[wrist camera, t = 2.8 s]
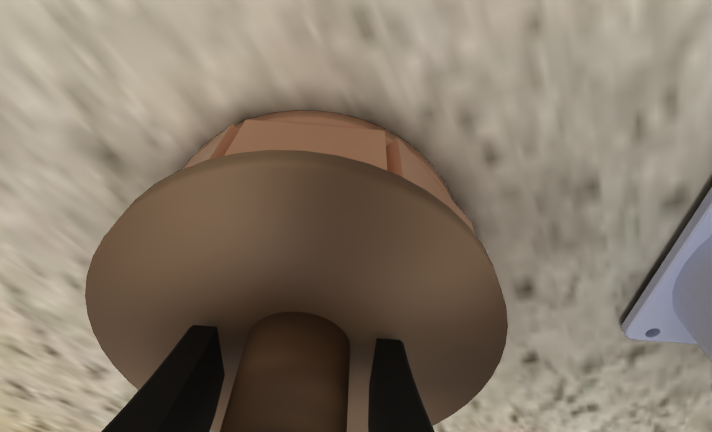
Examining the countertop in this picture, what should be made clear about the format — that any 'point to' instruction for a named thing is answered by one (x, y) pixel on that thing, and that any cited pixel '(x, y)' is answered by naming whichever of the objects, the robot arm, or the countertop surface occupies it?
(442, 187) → the bowl
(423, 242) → the lid
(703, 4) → the countertop surface
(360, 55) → the countertop surface
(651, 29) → the countertop surface
